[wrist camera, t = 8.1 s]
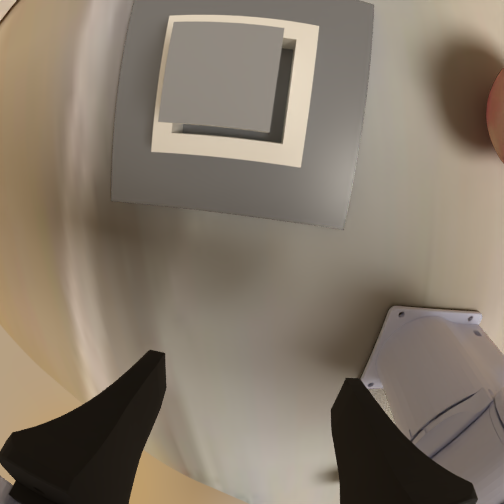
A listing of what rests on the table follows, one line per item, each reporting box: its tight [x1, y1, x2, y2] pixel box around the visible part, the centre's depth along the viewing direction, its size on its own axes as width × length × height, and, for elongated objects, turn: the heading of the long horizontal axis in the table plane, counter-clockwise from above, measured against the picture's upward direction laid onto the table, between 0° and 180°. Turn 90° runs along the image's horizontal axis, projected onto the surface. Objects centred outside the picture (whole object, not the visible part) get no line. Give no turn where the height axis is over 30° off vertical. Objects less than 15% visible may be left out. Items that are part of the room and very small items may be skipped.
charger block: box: [158, 22, 284, 133], centre depth 12 cm, size 4×4×6 cm
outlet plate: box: [111, 0, 374, 230], centre depth 14 cm, size 14×14×3 cm
